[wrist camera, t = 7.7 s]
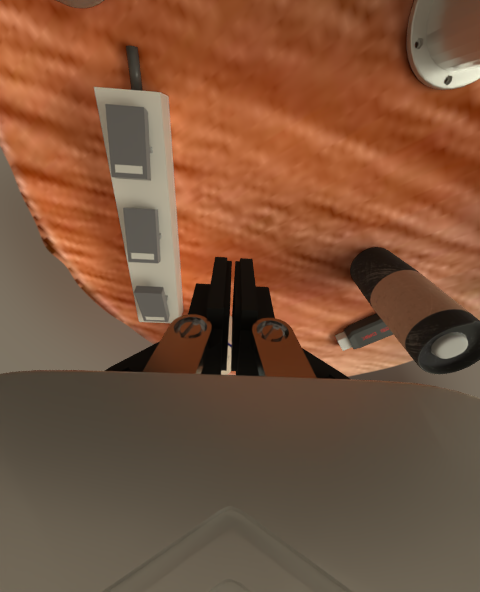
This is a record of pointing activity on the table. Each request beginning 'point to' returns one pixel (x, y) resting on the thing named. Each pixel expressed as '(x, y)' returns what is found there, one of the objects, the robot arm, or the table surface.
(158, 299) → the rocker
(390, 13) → the table surface
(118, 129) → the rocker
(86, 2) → the planter
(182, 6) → the table surface
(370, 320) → the usb drive
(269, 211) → the table surface
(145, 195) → the power strip
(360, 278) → the travel mug
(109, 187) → the table surface
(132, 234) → the rocker middle
